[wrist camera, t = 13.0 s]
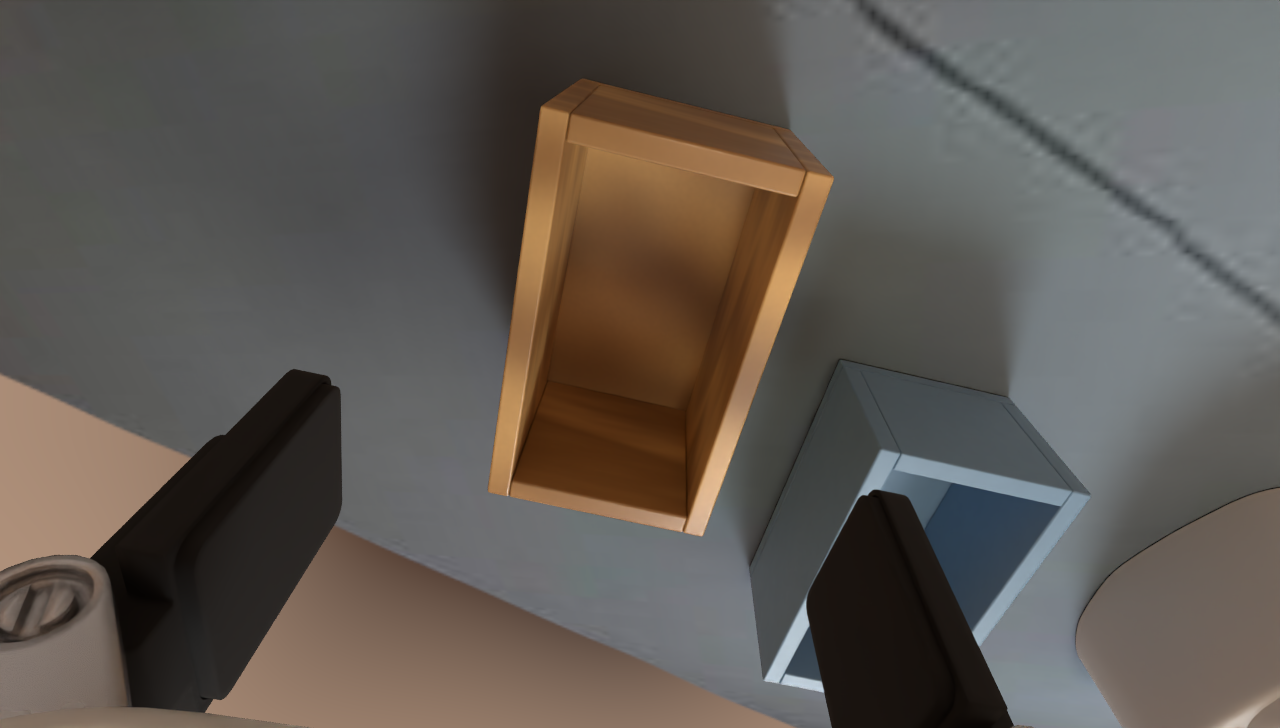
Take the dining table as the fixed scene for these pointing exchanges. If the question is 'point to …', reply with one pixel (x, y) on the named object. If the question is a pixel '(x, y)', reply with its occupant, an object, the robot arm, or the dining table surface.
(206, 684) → the robot arm
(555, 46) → the dining table surface
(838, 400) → the blue basket
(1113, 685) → the lumpy-topped squat cylinder
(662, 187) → the wooden basket
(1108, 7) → the dining table surface
